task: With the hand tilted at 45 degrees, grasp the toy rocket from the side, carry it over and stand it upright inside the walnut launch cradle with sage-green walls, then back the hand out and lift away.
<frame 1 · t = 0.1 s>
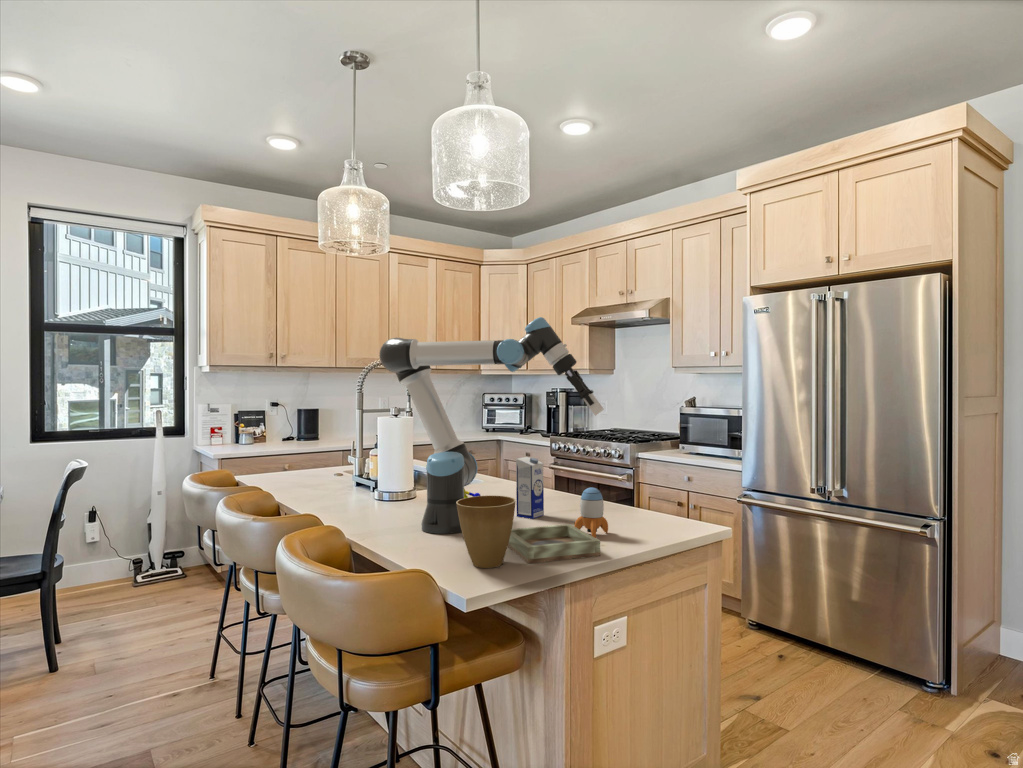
hand: (600, 412, 194), 36 cm above the countertop, tool tilted 35°, fingers open, 13 cm apart
toy rocket: (591, 536, 179), on the countertop
launch cradle: (550, 549, 164), on the countertop
milk carton: (530, 516, 207), on the countertop
plant pot: (486, 564, 152), on the countertop
decorative model: (460, 507, 224), on the countertop
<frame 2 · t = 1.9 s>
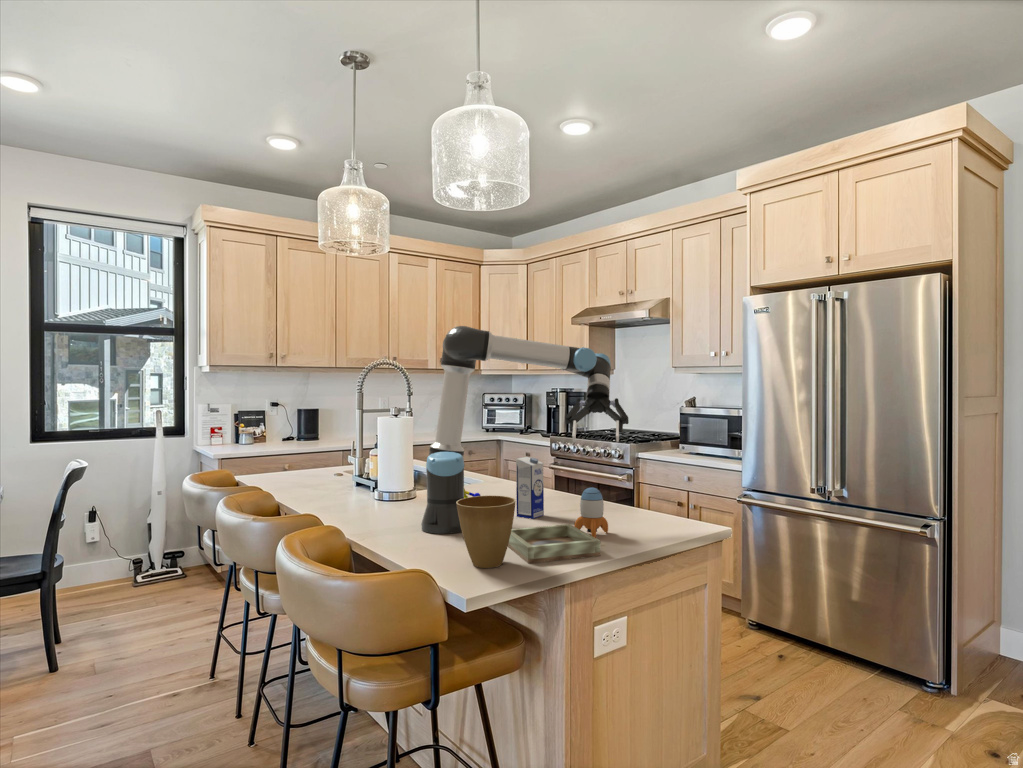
hand: (595, 438, 189), 28 cm above the countertop, tool tilted 45°, fingers open, 13 cm apart
nothing on the countertop moved.
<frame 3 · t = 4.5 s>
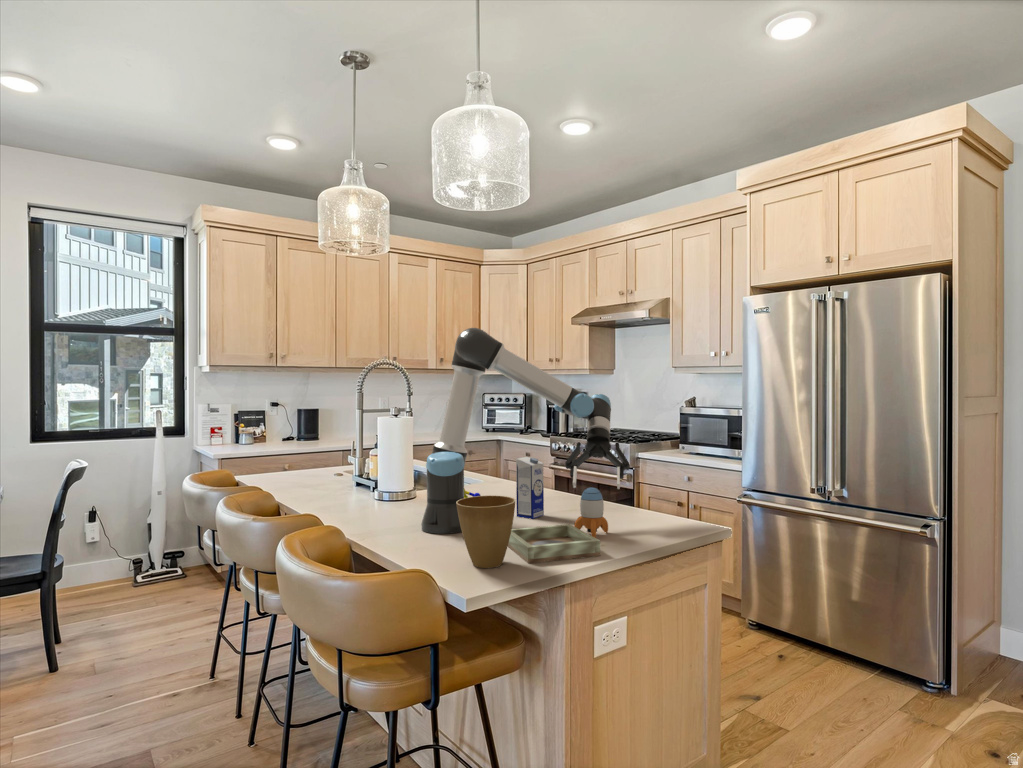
hand: (596, 486, 187), 13 cm above the countertop, tool tilted 45°, fingers open, 13 cm apart
nothing on the countertop moved.
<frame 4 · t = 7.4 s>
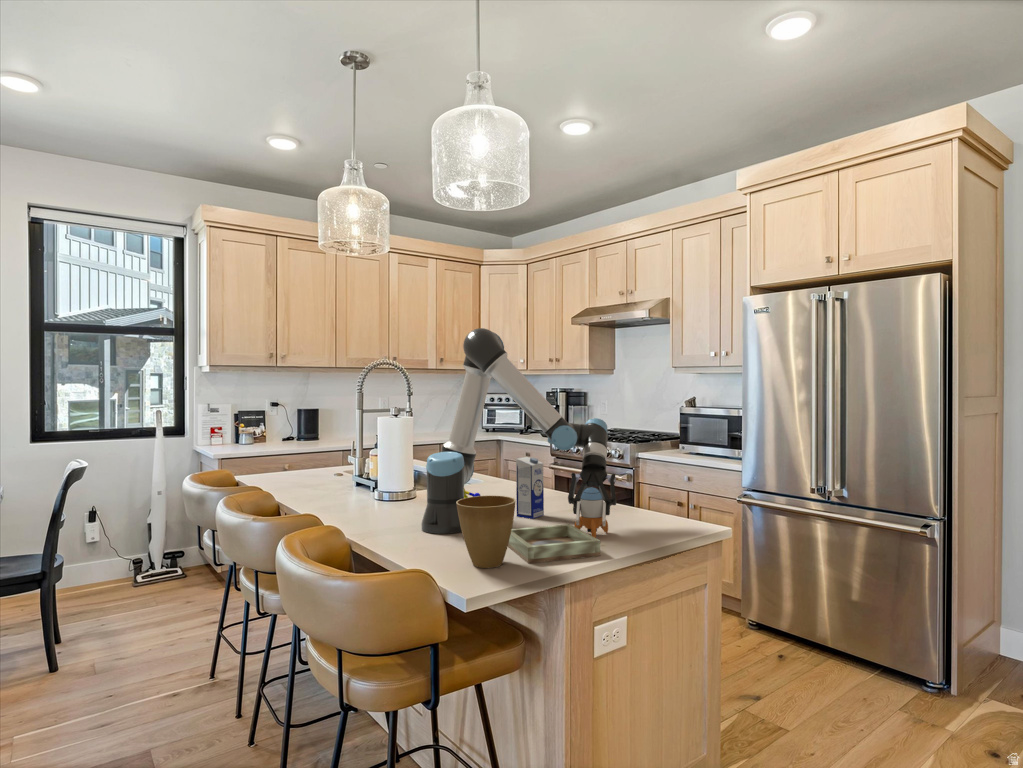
hand: (590, 523, 176), 5 cm above the countertop, tool tilted 45°, fingers closed on toy rocket, 7 cm apart
toy rocket: (591, 536, 179), on the countertop, touching gripper
everything else where it was.
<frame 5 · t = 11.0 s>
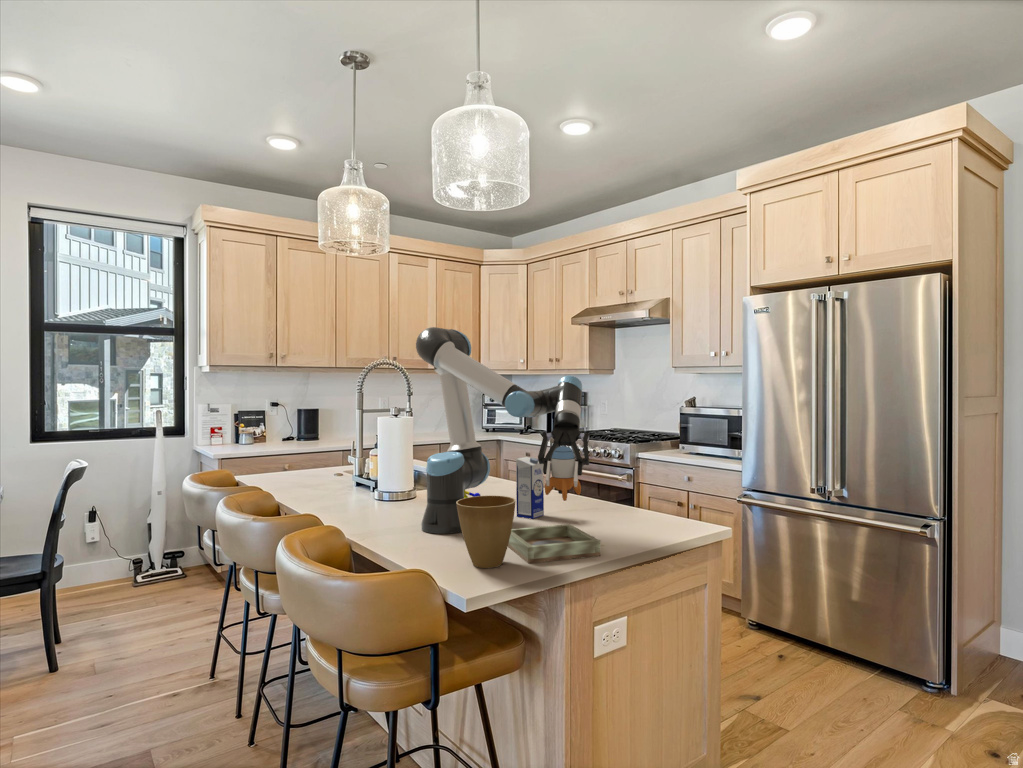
hand: (561, 483, 164), 18 cm above the countertop, tool tilted 45°, fingers closed on toy rocket, 7 cm apart
toy rocket: (562, 498, 167), point 13 cm above the countertop, touching gripper
everything else where it was.
when the fingers open (7 cm above the countertop, at t = 14.4 s): toy rocket drops 1 cm, resting on launch cradle.
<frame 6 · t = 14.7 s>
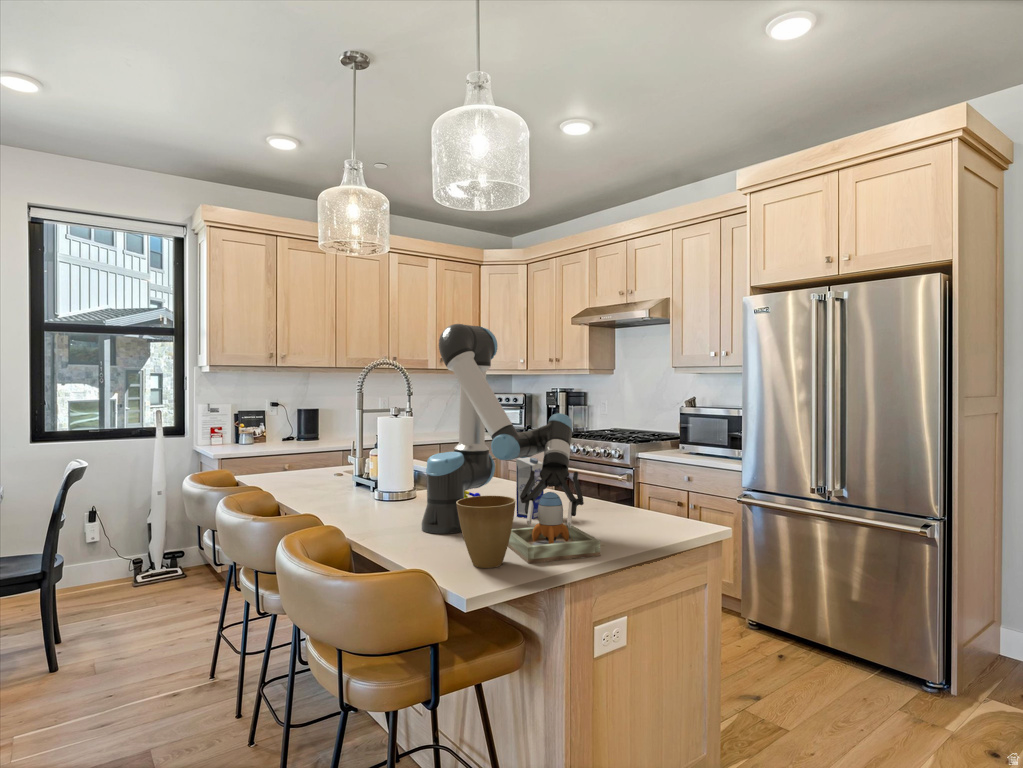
hand: (548, 524, 162), 8 cm above the countertop, tool tilted 45°, fingers open, 10 cm apart
toy rocket: (550, 545, 164), point 1 cm above the countertop, touching launch cradle
everything else where it was.
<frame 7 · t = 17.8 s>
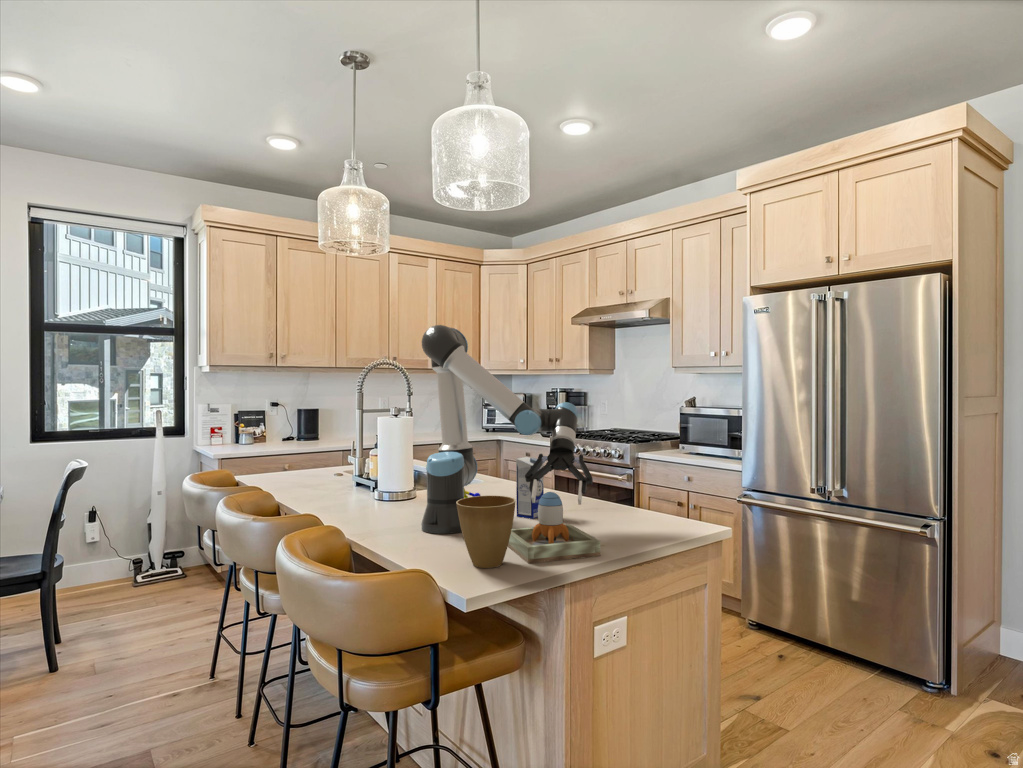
hand: (556, 501, 175), 11 cm above the countertop, tool tilted 45°, fingers open, 13 cm apart
nothing on the countertop moved.
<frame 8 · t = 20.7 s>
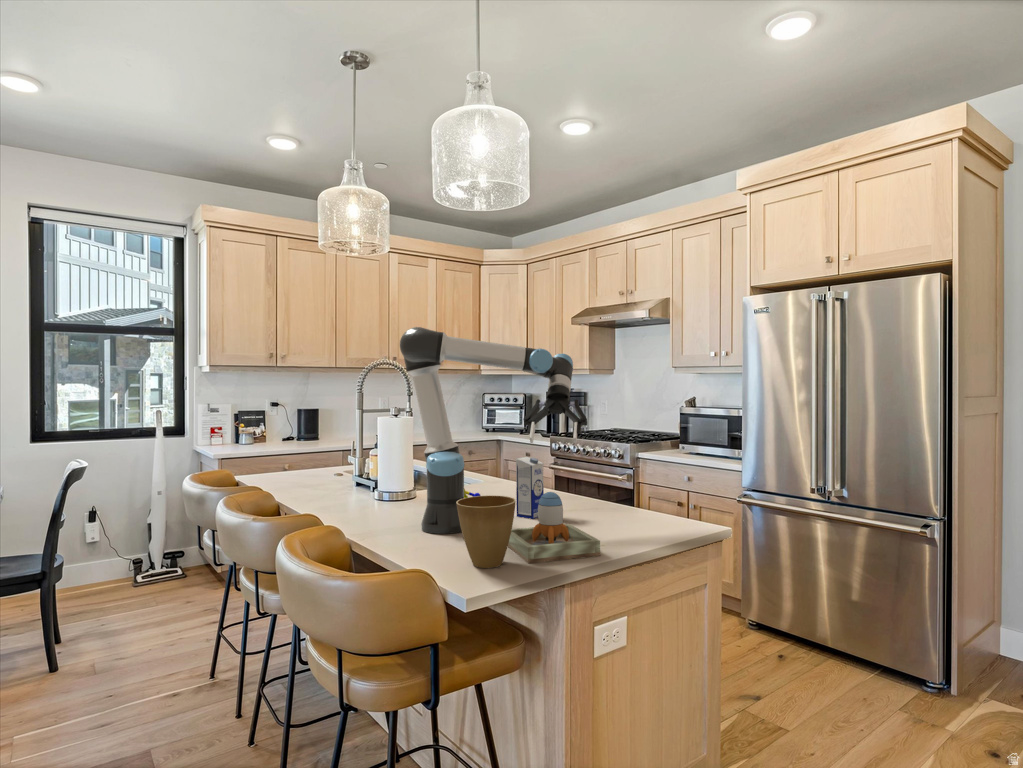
hand: (552, 440, 186), 28 cm above the countertop, tool tilted 45°, fingers open, 13 cm apart
nothing on the countertop moved.
at the end: toy rocket inside the target area on the launch cradle (0.1 cm from its centre), point 1.1 cm above the launch cradle's base; toy rocket tilted 0°; the gripper is holding nothing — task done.
